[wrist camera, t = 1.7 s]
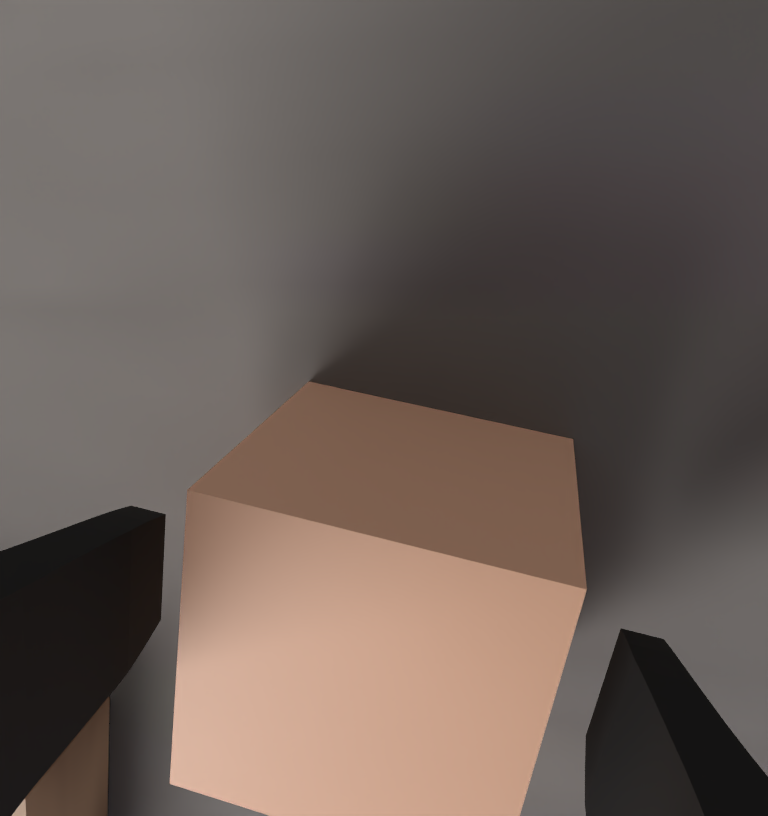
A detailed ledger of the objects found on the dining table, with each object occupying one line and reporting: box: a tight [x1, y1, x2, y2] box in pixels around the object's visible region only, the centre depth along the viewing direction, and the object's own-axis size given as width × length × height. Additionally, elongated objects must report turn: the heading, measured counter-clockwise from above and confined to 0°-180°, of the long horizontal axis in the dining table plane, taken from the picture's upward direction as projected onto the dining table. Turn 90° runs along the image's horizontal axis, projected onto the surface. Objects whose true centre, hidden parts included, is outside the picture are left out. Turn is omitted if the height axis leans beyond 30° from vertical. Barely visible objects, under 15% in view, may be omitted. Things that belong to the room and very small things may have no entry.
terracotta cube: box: [170, 382, 587, 816], centre depth 12 cm, size 5×5×5 cm
